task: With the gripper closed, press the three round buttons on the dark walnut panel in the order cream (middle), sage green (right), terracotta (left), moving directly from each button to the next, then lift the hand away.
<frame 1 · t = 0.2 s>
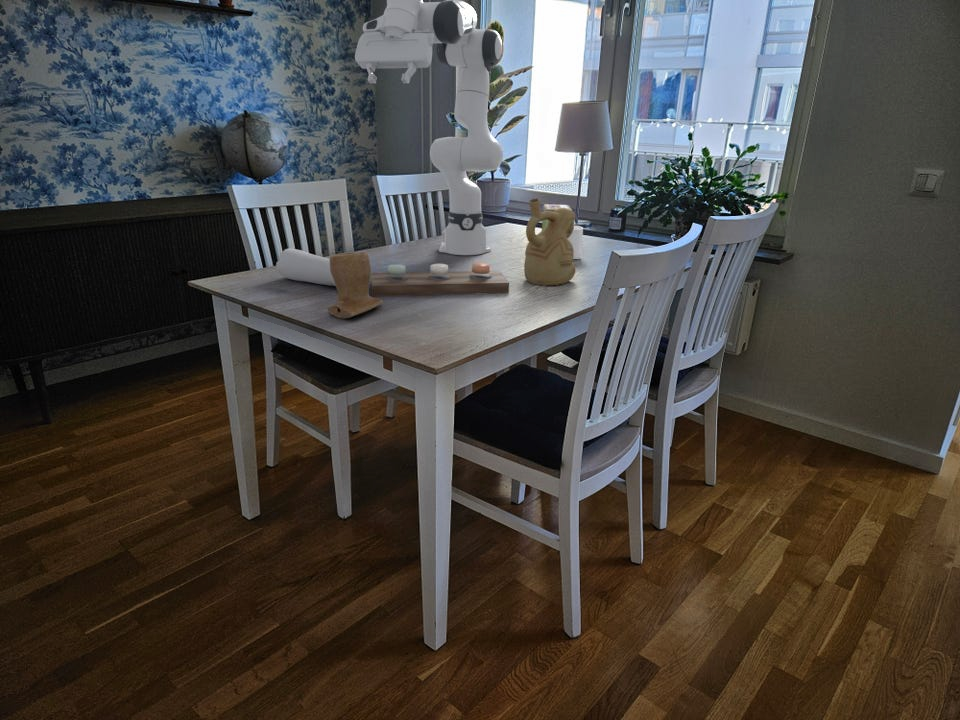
hand: (388, 82, 157), 54 cm above the table, tool tilted 30°, fingers open, 8 cm apart
bottle: (323, 286, 180), on the table
button sage: (396, 269, 176), point 6 cm above the table, slide at 0.0 cm
button panel: (439, 287, 180), on the table
tea box: (554, 246, 240), on the table
ceramic vessel: (546, 281, 190), on the table
button cream: (439, 269, 178), point 6 cm above the table, slide at 0.0 cm
stone cup: (352, 312, 158), on the table
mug: (566, 259, 218), on the table
button terracotta: (480, 268, 180), point 6 cm above the table, slide at 0.0 cm
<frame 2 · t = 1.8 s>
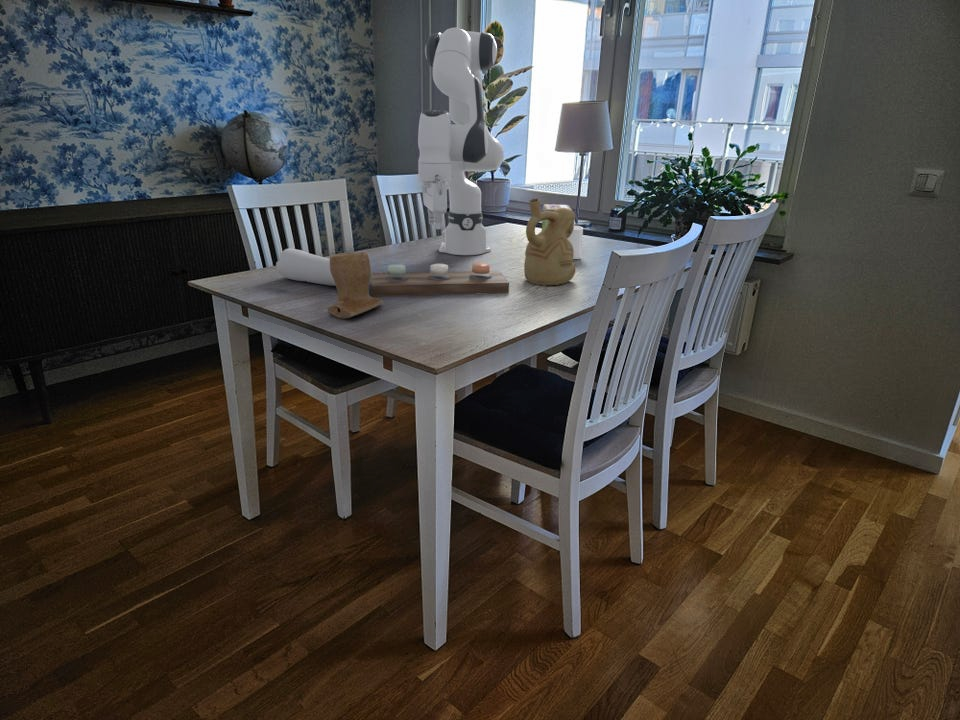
hand: (434, 226, 172), 18 cm above the table, tool pointing down, fingers open, 8 cm apart
nothing on the table moved.
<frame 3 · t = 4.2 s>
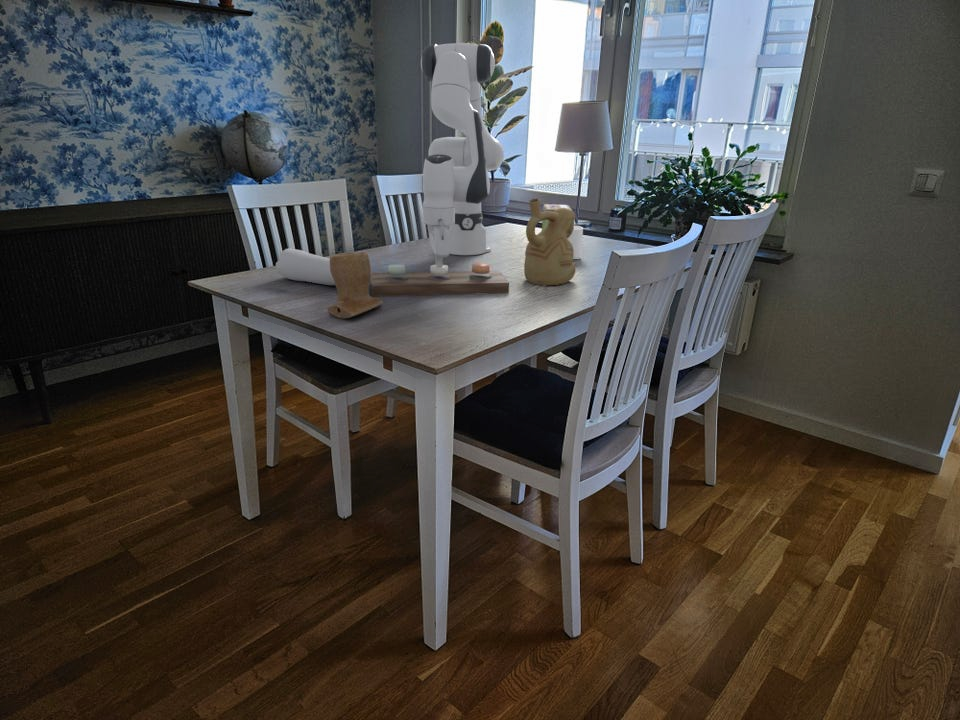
hand: (439, 266, 177), 6 cm above the table, tool pointing down, fingers closed, pressing on button cream
button cream: (439, 269, 178), point 5 cm above the table, slide at 0.2 cm, touching gripper
everything else where it was.
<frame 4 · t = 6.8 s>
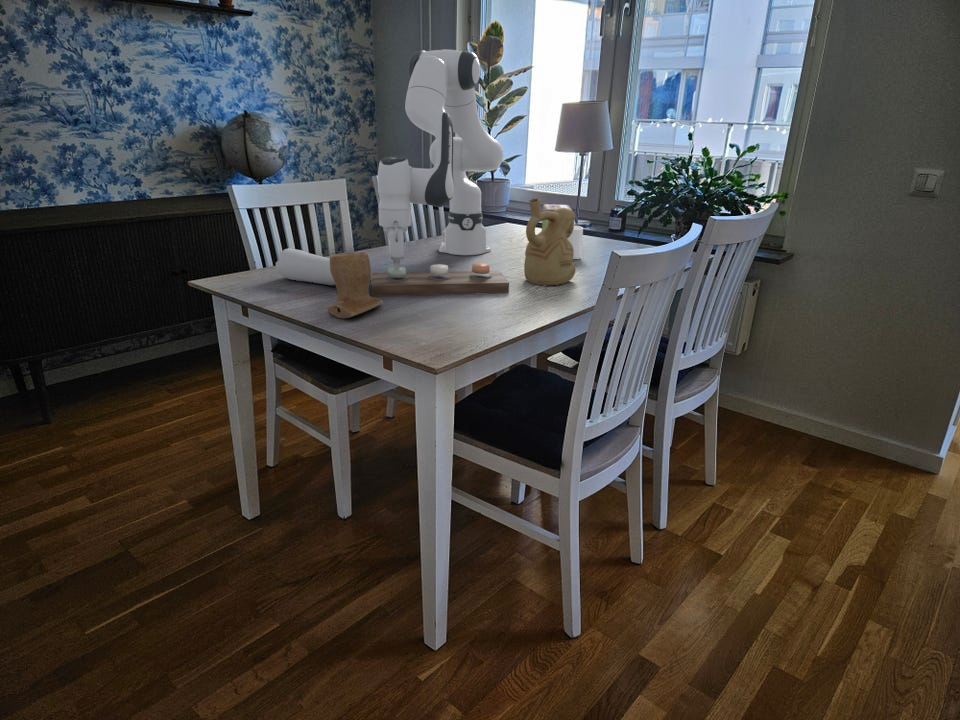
hand: (396, 268, 176), 6 cm above the table, tool pointing down, fingers closed, pressing on button sage
button sage: (396, 272, 176), point 5 cm above the table, slide at 0.6 cm, touching gripper
button cream: (439, 269, 178), point 5 cm above the table, slide at 0.2 cm
everything else where it was.
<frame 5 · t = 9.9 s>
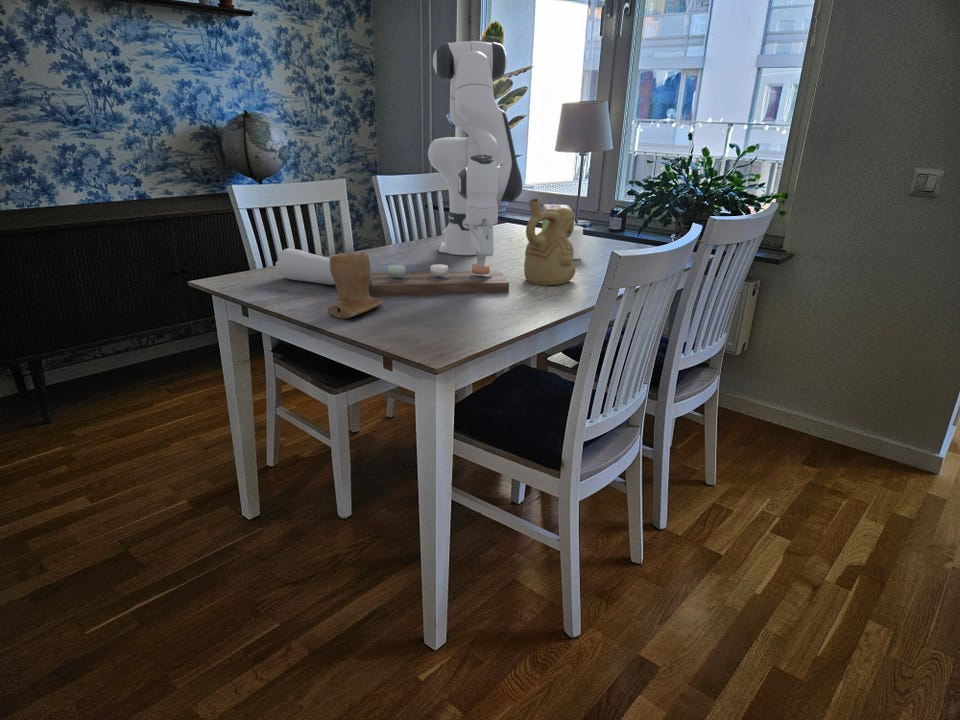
hand: (480, 265, 179), 6 cm above the table, tool pointing down, fingers closed, pressing on button terracotta
button sage: (396, 270, 176), point 5 cm above the table, slide at 0.2 cm
button terracotta: (480, 269, 180), point 5 cm above the table, slide at 0.2 cm, touching gripper
everything else where it was.
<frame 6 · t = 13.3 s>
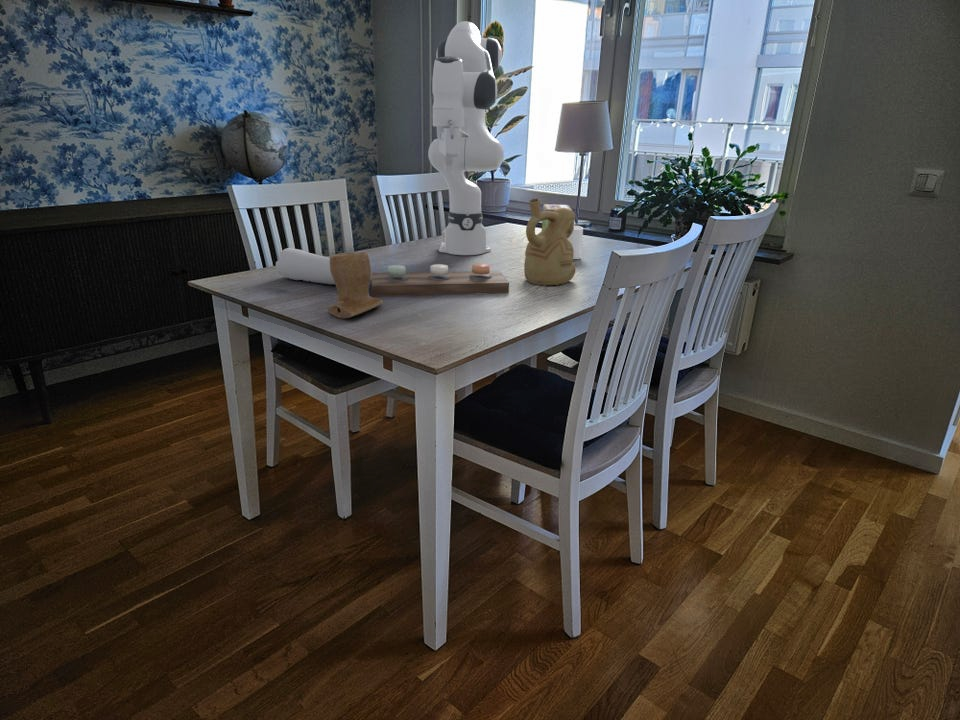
hand: (448, 171, 181), 31 cm above the table, tool pointing down, fingers closed
button terracotta: (480, 269, 180), point 5 cm above the table, slide at 0.2 cm
at the end: button cream slide at 0.2 cm; button terracotta slide at 0.2 cm; ceramic vessel moved 0.2 cm from its start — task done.
